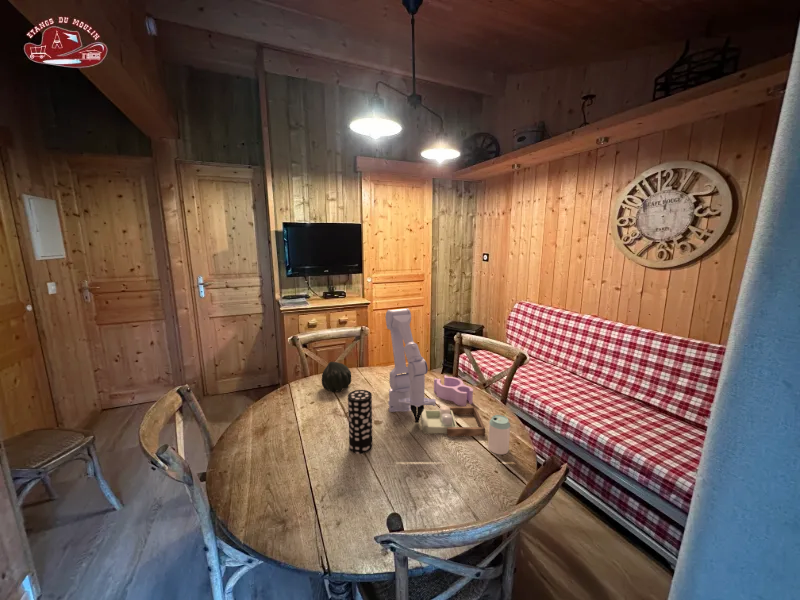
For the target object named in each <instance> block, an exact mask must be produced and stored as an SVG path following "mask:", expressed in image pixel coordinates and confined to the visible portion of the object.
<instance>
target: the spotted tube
mask: <svg viewBox="0 0 800 600" xmlns="http://www.w3.org/2000/svg"><path fill="white" fill-rule="evenodd" d="M372 398H373V394H372V392H371V391H369V390H366V389H357V390H353V391H351V392H349V393H348V394H347V409H348V414H347V416H348V445H349V450H350V451H351V453H354V454H357V455H362V454H367V453H368V452H371V450H372V449H373V399H372Z"/></svg>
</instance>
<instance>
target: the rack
mask: <svg viewBox="0 0 800 600" xmlns="http://www.w3.org/2000/svg"><path fill="white" fill-rule="evenodd" d="M448 407H449V408H450V410H452V412H453V415H473V417H474V420H475V421H476V424H477V426H478V427H477V426H473V427H471V426H470V427H469V426H466V427H465V426H459V427H458V426H457V427H447V433H446V435H447V437H486V426H485V425H484V423H483V420H482V418H481V417H480V414H479V412H478V409H477V407H476V406H448Z"/></svg>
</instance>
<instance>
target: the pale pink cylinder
mask: <svg viewBox="0 0 800 600" xmlns="http://www.w3.org/2000/svg"><path fill="white" fill-rule="evenodd" d="M449 407H450V406H448V405H444V406H443V405H442V406H440V407H439V410H440V421H441V422H442V415H443V414H450V408H449Z"/></svg>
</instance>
